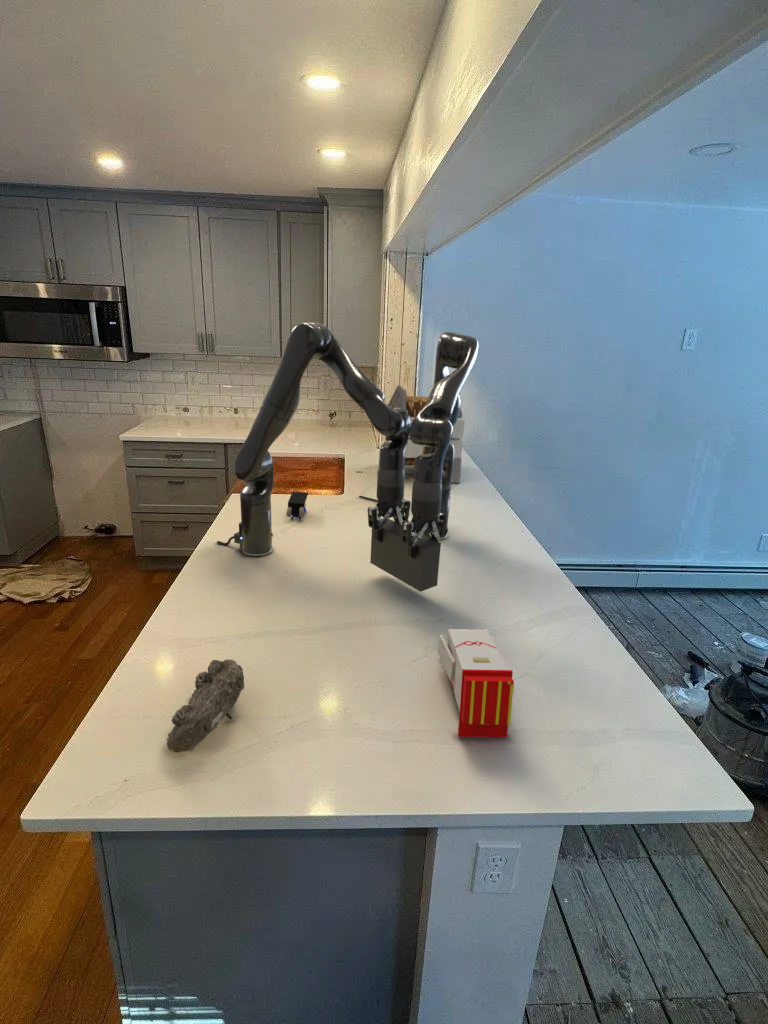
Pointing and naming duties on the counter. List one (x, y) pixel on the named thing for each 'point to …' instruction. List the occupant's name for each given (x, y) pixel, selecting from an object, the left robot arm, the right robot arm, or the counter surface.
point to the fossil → (206, 705)
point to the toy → (478, 682)
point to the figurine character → (297, 505)
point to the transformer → (412, 450)
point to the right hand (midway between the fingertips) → (422, 554)
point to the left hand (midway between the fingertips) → (387, 538)
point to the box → (406, 557)
